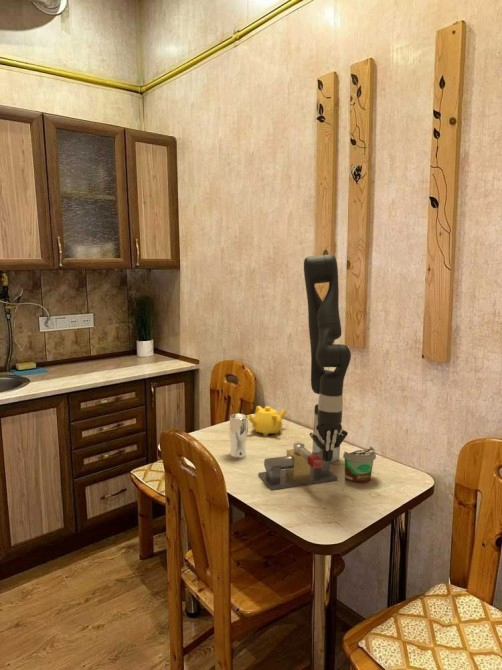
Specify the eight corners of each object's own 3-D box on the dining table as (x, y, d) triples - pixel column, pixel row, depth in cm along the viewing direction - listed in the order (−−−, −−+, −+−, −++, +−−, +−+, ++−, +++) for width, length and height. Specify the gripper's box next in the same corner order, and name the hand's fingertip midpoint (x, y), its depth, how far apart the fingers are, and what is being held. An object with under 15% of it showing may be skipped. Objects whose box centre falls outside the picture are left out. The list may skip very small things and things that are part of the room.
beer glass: (245, 459, 170) (246, 420, 168) (226, 457, 171) (227, 418, 169) (248, 452, 177) (250, 414, 175) (231, 450, 178) (232, 412, 176)
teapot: (274, 422, 212) (274, 398, 211) (298, 434, 197) (299, 409, 196) (236, 429, 202) (236, 404, 200) (259, 443, 187) (259, 416, 185)
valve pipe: (321, 466, 166) (322, 442, 164) (337, 480, 155) (338, 454, 154) (258, 475, 157) (259, 450, 156) (270, 490, 147) (271, 463, 146)
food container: (353, 487, 150) (355, 458, 149) (341, 480, 156) (343, 451, 154) (382, 480, 156) (384, 452, 155) (369, 473, 161) (371, 446, 160)
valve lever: (291, 450, 156) (291, 443, 156) (301, 449, 157) (301, 442, 157) (312, 468, 142) (312, 460, 142) (322, 467, 144) (323, 459, 143)
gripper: (342, 402, 151) (339, 453, 153) (305, 405, 146) (303, 458, 148) (355, 409, 144) (351, 462, 146) (317, 412, 139) (314, 467, 142)
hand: (327, 460), depth 147 cm, fingers closed
